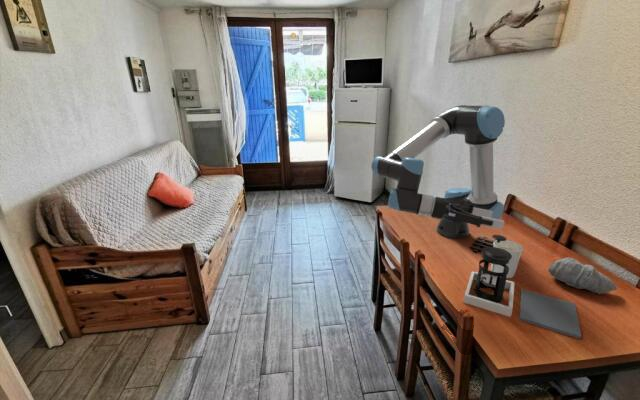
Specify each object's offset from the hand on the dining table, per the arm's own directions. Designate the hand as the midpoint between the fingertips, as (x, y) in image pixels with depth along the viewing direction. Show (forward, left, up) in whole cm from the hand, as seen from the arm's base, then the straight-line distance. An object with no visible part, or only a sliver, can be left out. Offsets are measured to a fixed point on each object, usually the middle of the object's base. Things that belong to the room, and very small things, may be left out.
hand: (497, 219), depth 103 cm
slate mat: (+19, -5, -27) cm, 33 cm away
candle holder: (+5, +14, -27) cm, 31 cm away
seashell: (+29, +18, -28) cm, 44 cm away
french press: (+2, -5, -27) cm, 28 cm away
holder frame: (+2, -5, -27) cm, 28 cm away
